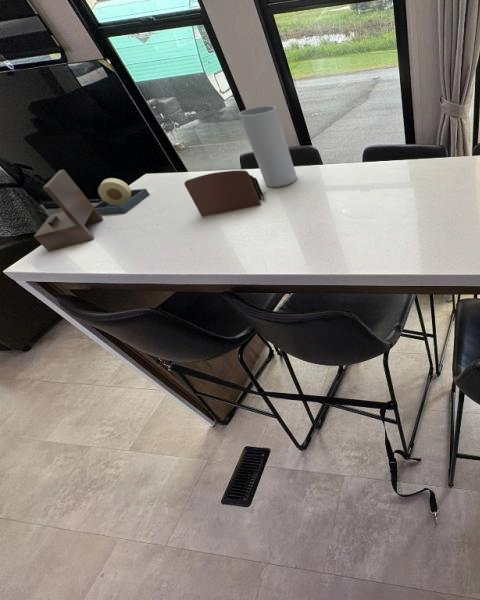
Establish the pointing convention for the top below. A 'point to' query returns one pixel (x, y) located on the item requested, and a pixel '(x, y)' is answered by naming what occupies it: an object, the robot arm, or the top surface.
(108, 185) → the tape roll
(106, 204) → the tray
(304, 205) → the top surface
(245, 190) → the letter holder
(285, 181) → the cylinder vase
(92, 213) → the stand
